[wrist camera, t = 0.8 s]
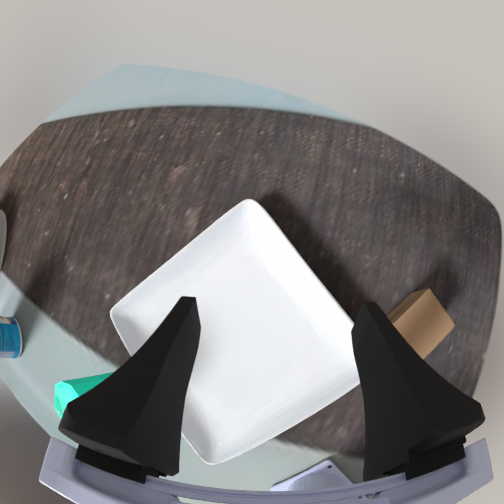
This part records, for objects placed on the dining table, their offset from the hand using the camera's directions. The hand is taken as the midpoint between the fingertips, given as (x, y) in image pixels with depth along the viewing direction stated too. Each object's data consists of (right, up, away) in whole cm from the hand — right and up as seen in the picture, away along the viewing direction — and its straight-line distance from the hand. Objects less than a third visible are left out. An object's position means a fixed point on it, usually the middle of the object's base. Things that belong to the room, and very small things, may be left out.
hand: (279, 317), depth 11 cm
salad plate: (-3, -7, +16) cm, 18 cm away
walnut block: (+15, -5, +12) cm, 20 cm away
